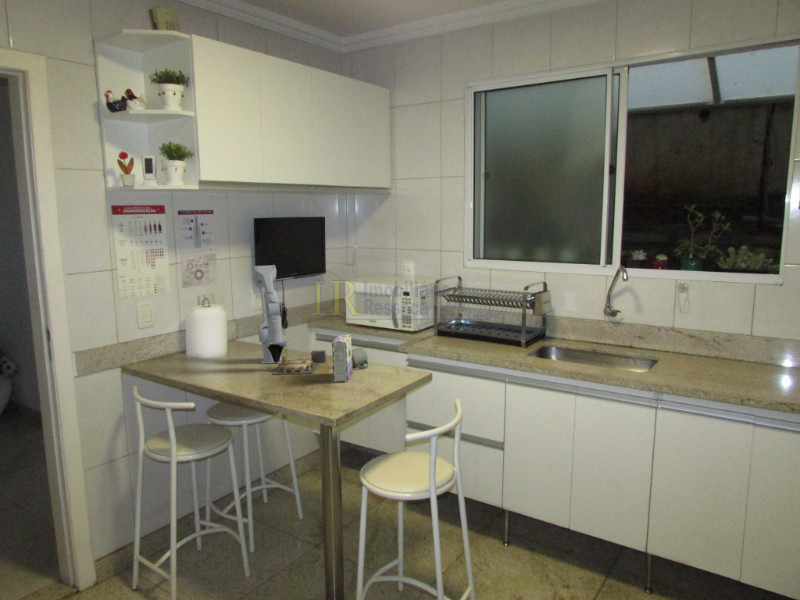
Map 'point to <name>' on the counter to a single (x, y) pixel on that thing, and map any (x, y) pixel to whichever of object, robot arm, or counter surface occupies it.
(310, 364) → the sprocket
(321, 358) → the banded gift box
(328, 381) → the counter surface
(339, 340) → the candy box
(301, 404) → the counter surface
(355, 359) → the ceramic mug
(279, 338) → the robot arm
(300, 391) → the counter surface
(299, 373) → the index plate
